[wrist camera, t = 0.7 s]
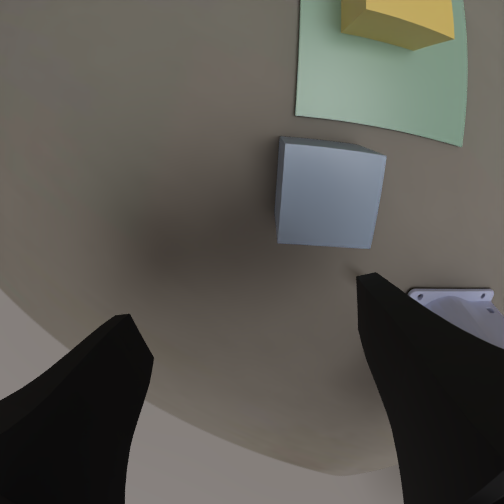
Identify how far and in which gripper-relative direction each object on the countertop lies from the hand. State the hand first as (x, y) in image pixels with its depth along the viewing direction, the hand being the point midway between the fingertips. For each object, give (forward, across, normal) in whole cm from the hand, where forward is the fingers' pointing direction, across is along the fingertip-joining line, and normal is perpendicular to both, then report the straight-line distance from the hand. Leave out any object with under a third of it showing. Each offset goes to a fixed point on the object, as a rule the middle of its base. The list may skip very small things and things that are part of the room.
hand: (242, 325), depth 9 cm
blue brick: (+10, -4, -2) cm, 11 cm away
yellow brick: (+10, -10, -11) cm, 18 cm away
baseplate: (+10, -10, -9) cm, 17 cm away
